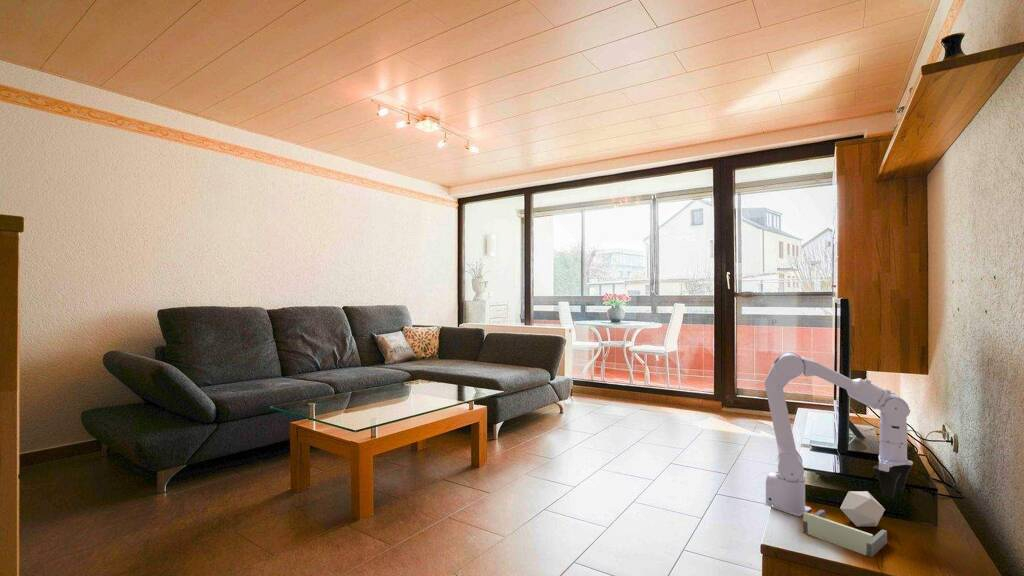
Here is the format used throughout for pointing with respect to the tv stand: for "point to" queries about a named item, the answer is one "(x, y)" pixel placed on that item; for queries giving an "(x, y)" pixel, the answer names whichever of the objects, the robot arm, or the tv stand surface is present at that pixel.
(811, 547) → the tv stand surface
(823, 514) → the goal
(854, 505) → the die
